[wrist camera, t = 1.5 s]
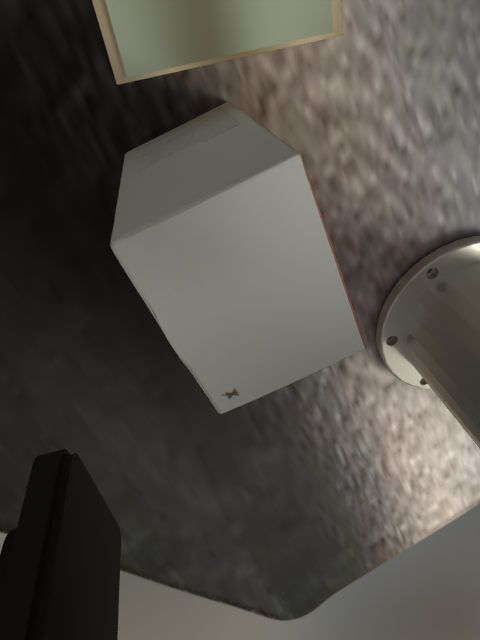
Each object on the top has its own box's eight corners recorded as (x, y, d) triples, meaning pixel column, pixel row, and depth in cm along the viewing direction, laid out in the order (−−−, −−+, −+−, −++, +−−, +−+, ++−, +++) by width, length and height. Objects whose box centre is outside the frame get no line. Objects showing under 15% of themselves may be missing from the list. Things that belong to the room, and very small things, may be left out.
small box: (283, 228, 28) (370, 353, 17) (190, 273, 28) (218, 421, 18) (230, 95, 24) (303, 148, 13) (121, 150, 24) (101, 247, 13)
